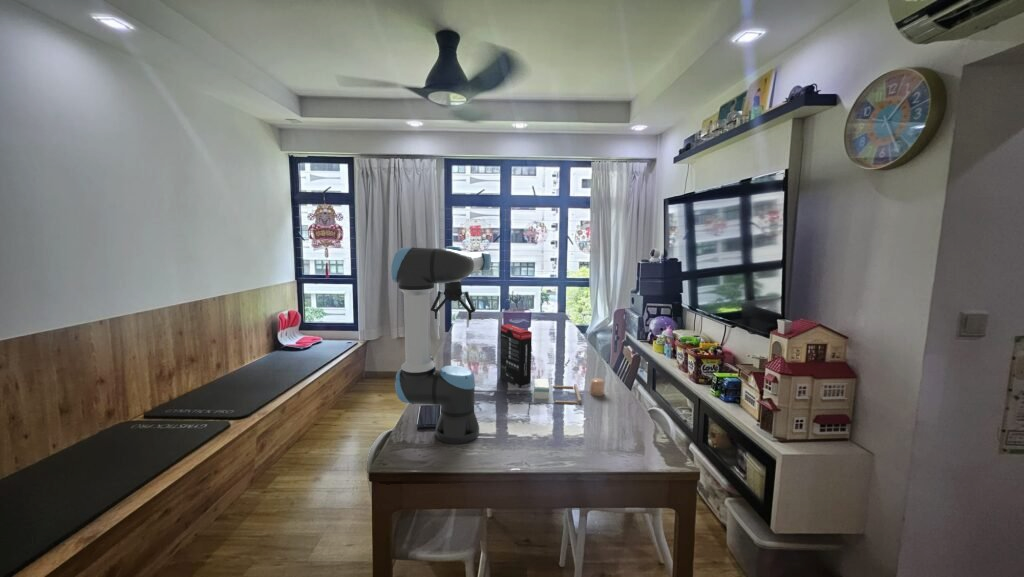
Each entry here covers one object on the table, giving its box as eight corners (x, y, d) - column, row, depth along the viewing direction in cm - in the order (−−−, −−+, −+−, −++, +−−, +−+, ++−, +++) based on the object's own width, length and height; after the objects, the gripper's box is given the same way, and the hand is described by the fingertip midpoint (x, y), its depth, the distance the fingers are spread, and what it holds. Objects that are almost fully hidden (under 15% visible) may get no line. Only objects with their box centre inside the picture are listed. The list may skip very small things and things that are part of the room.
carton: (548, 399, 172) (549, 387, 171) (534, 398, 172) (534, 387, 172) (547, 389, 182) (548, 379, 182) (534, 389, 182) (534, 378, 182)
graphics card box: (531, 389, 187) (533, 330, 183) (519, 392, 183) (520, 332, 179) (510, 377, 201) (511, 323, 197) (498, 380, 197) (499, 324, 193)
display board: (580, 407, 168) (581, 400, 167) (531, 405, 169) (532, 398, 168) (576, 390, 186) (576, 384, 185) (531, 389, 187) (532, 382, 186)
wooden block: (604, 396, 180) (605, 383, 179) (591, 395, 180) (591, 382, 180) (602, 391, 186) (603, 378, 185) (589, 390, 186) (589, 378, 186)
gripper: (481, 280, 189) (481, 325, 192) (427, 279, 190) (428, 323, 193) (479, 282, 182) (479, 329, 185) (423, 280, 183) (424, 327, 185)
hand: (453, 326), depth 189 cm, fingers open, 13 cm apart
